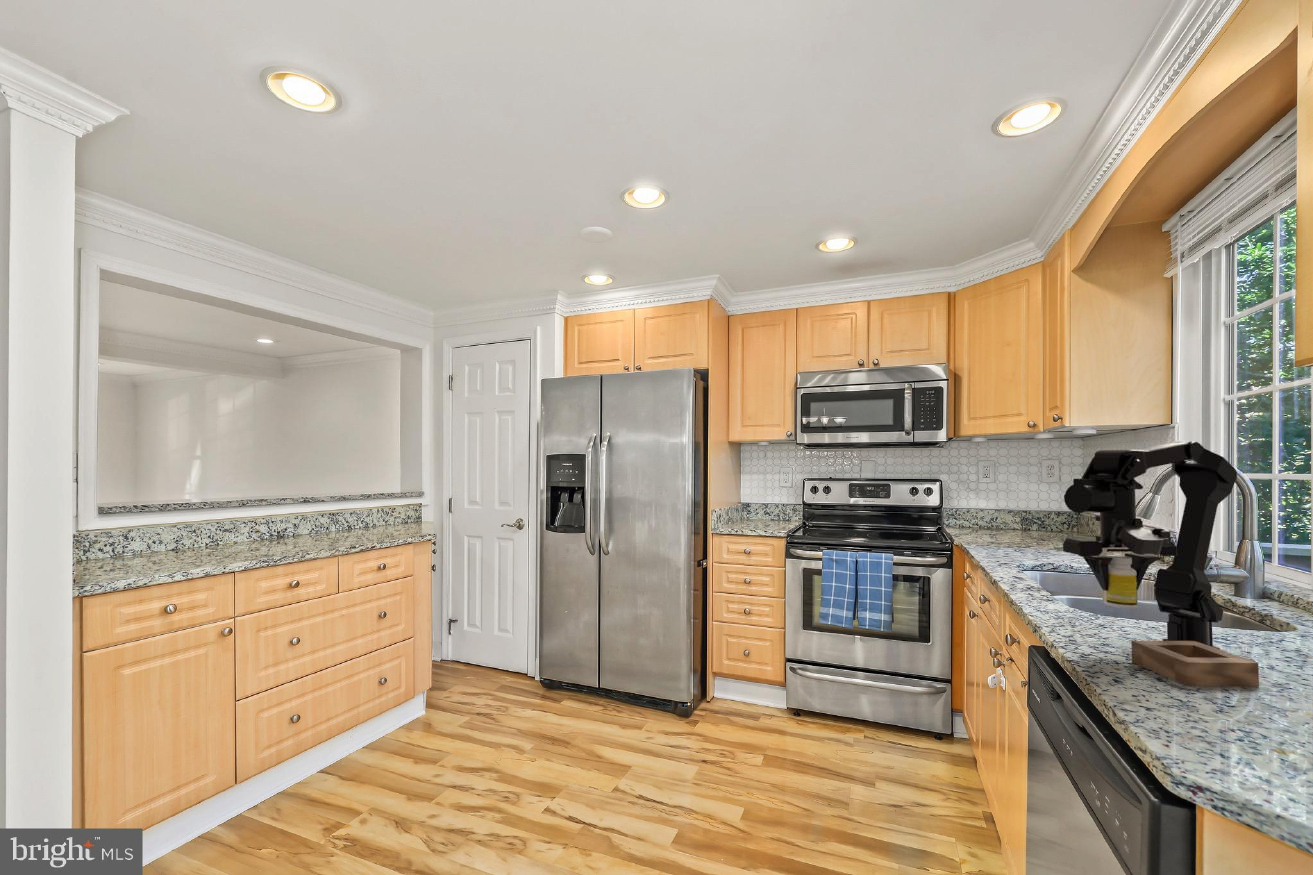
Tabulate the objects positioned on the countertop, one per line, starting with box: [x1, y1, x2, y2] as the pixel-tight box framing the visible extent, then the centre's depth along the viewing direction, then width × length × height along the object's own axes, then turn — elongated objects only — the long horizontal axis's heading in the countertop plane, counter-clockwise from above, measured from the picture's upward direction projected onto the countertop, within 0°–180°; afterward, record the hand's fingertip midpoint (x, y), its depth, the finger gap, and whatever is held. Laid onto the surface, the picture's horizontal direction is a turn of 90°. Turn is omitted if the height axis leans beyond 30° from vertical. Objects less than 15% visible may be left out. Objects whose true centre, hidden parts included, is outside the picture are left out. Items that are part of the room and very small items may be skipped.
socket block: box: [1130, 640, 1260, 688], centre depth 106 cm, size 12×12×4 cm
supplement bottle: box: [1102, 554, 1138, 609], centre depth 117 cm, size 5×5×10 cm
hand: (1119, 590), depth 117 cm, fingers closed on supplement bottle, 5 cm apart
